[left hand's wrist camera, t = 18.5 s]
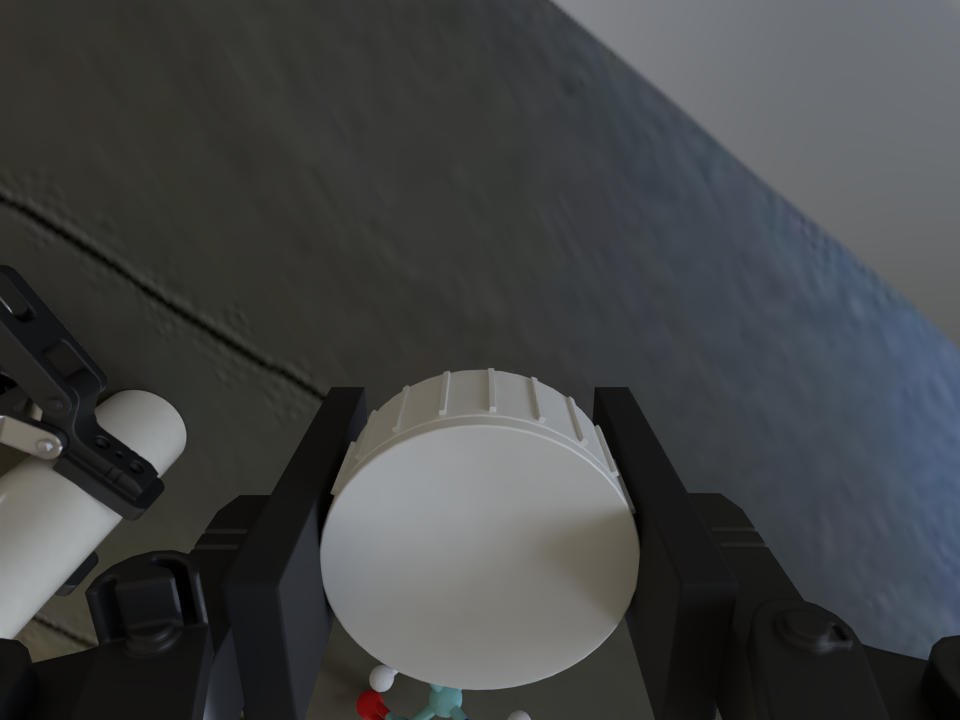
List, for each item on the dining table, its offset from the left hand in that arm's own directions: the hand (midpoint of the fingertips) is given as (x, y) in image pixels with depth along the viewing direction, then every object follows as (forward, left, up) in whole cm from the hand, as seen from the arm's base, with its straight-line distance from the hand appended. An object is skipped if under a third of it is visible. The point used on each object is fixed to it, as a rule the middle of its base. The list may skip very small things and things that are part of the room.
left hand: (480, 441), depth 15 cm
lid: (0, 0, +4) cm, 4 cm away
